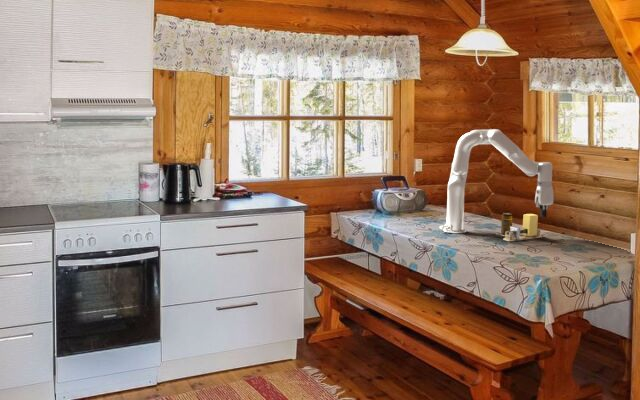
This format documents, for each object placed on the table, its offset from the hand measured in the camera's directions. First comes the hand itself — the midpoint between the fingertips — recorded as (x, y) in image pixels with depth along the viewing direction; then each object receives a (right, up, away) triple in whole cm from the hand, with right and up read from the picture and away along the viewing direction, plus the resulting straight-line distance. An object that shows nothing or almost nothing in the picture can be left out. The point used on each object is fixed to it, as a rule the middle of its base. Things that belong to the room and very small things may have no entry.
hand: (543, 216), depth 390 cm
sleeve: (-8, -10, -3) cm, 13 cm away
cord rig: (-13, -12, -5) cm, 18 cm away
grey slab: (-18, -12, -7) cm, 23 cm away
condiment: (-20, -11, +6) cm, 23 cm away
